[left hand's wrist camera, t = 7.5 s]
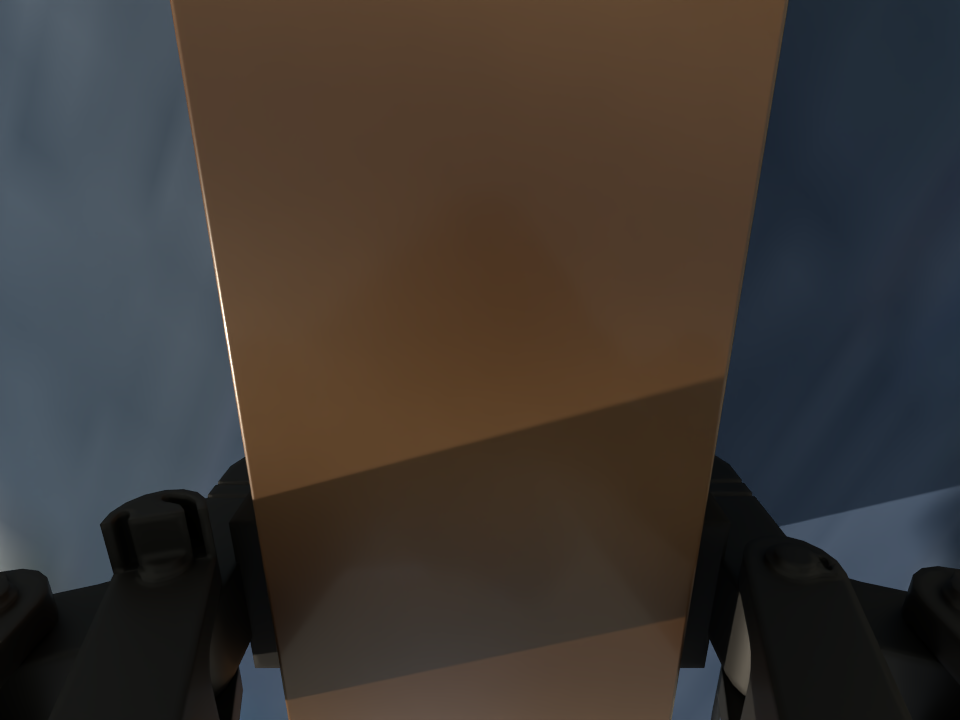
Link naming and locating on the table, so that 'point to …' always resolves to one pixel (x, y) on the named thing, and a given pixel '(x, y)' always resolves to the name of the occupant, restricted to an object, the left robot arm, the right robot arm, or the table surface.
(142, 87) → the table surface
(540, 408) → the beam
